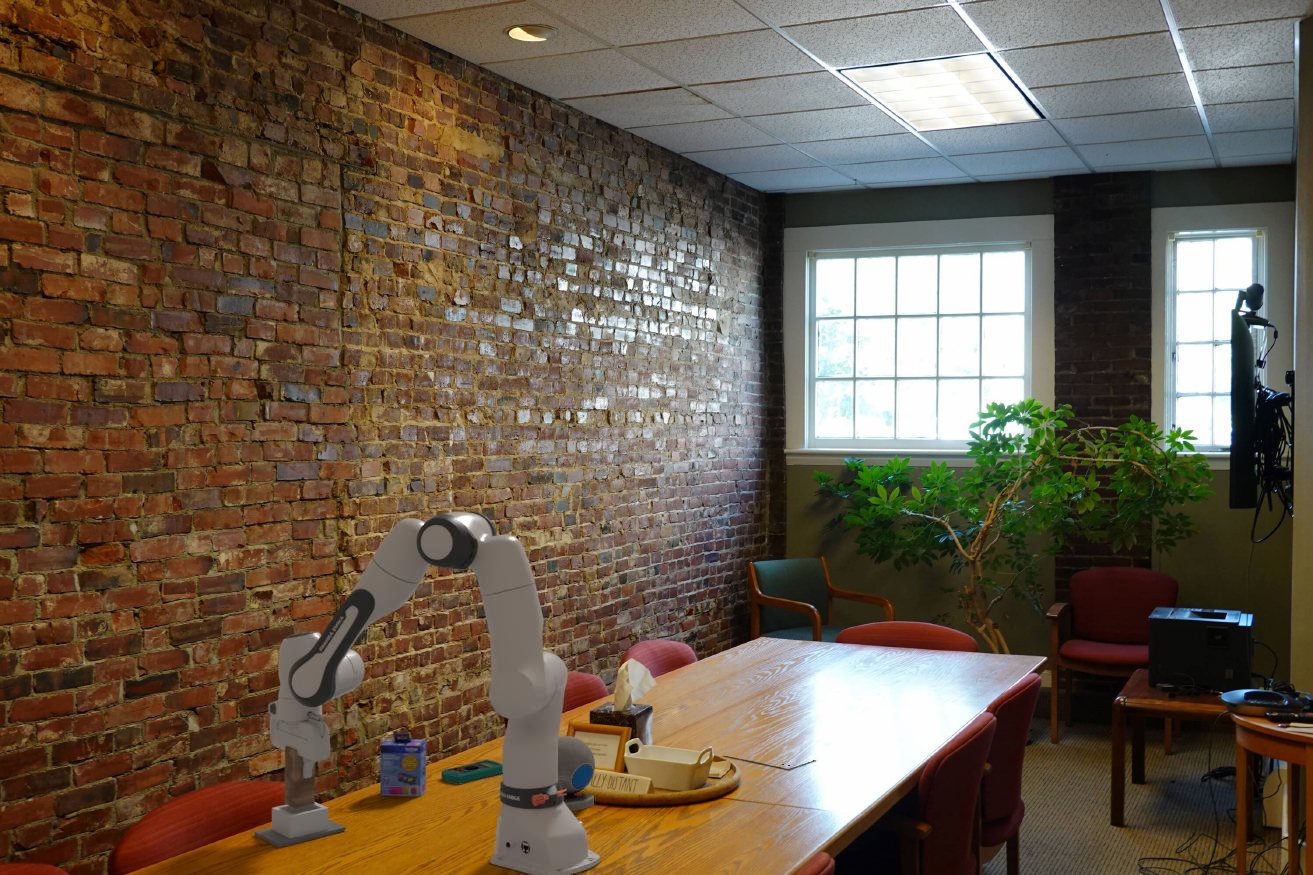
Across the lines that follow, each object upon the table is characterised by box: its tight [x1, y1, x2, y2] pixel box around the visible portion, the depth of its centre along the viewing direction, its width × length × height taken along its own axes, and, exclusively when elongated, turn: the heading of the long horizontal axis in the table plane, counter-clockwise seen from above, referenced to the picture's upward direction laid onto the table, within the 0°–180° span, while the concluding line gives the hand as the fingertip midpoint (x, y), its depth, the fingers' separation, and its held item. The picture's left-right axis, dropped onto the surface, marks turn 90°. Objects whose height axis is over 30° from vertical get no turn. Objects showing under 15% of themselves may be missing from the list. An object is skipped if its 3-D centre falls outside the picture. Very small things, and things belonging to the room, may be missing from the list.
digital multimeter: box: [441, 759, 503, 785], centre depth 286 cm, size 7×15×3 cm, turn 135°
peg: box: [284, 746, 316, 808], centre depth 243 cm, size 4×4×12 cm
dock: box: [253, 801, 347, 849], centre depth 242 cm, size 11×15×5 cm
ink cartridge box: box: [379, 733, 427, 798], centre depth 271 cm, size 10×6×14 cm, turn 88°
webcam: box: [558, 735, 596, 812], centre depth 263 cm, size 13×13×15 cm
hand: (299, 774), depth 243 cm, fingers closed on peg, 4 cm apart
